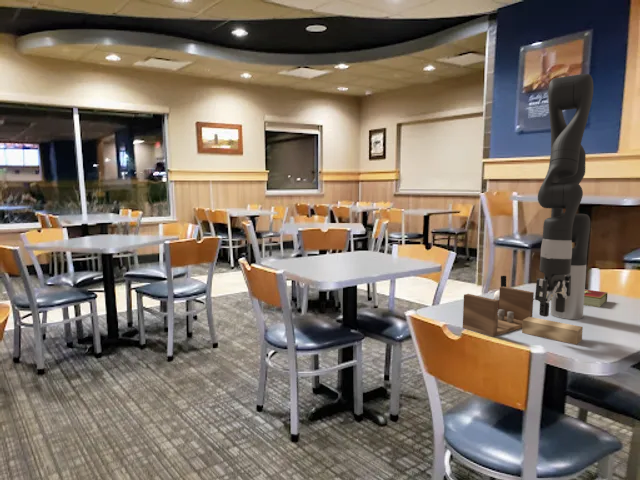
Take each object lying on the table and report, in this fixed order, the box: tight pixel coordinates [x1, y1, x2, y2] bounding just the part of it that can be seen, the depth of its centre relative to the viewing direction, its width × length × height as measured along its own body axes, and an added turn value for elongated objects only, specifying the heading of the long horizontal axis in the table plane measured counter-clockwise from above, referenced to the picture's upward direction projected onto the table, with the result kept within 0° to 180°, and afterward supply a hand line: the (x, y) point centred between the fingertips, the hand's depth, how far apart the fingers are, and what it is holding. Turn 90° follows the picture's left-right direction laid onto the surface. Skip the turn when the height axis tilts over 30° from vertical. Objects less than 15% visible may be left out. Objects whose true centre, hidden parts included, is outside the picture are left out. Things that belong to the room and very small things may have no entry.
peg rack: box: [462, 286, 535, 338], centre depth 133 cm, size 20×10×10 cm, turn 125°
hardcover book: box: [539, 289, 608, 308], centre depth 166 cm, size 12×21×4 cm, turn 48°
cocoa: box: [493, 275, 507, 310], centre depth 151 cm, size 10×6×12 cm, turn 139°
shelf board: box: [521, 316, 583, 346], centre depth 124 cm, size 14×5×4 cm, turn 46°
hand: (551, 313), depth 123 cm, fingers open, 8 cm apart
